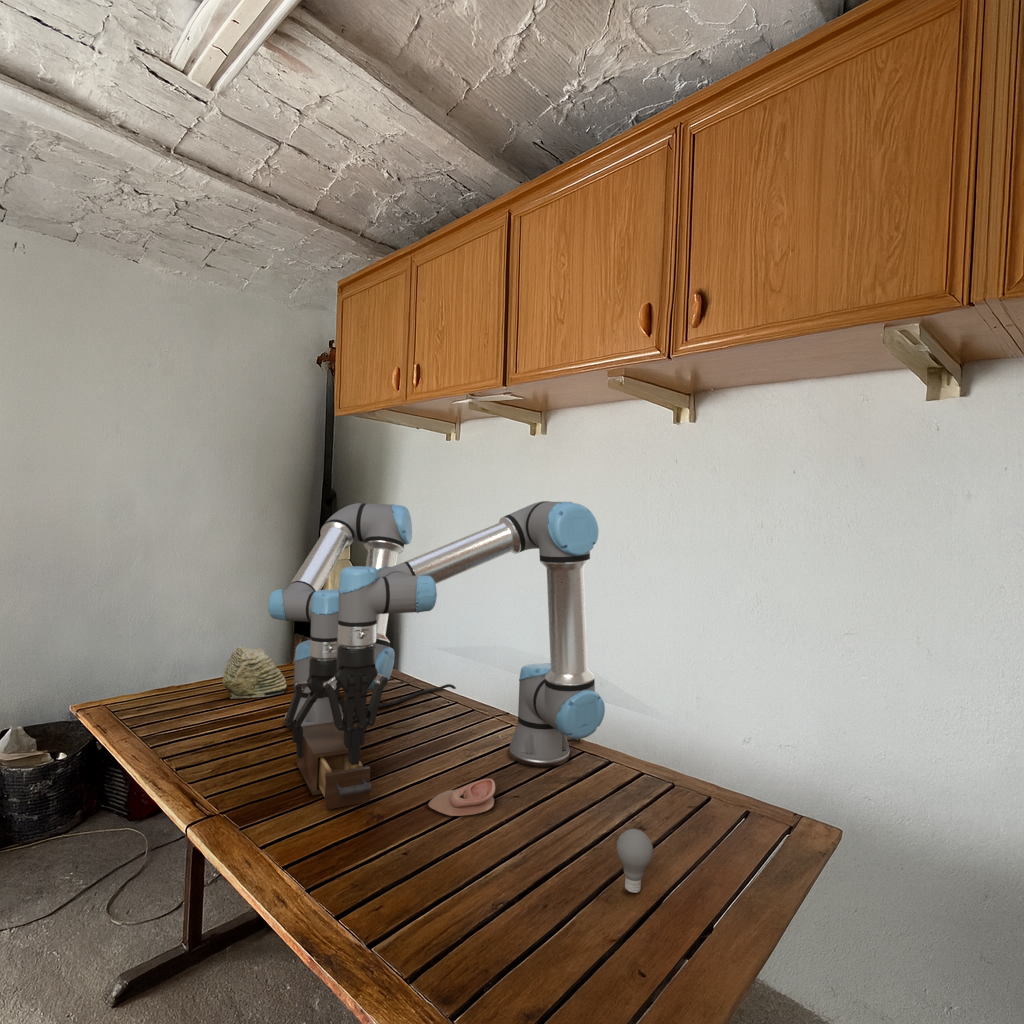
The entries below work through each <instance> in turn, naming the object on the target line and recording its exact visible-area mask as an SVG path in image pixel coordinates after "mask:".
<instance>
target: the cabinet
mask: <svg viewBox="0 0 1024 1024" xmlns="http://www.w3.org/2000/svg"><path fill="white" fill-rule="evenodd" d="M301 727H302V728H303V742H302V757H301V758H298V756H297V755H296V766H297V768H298V770H299V771H300V773H301V776H302V778H303V779H304V781H305V783H306V785H307V788H308V789H309V791H310V793H311V795H312V796H317V795H318V796H319V795H323V793H322V792H321V790H320V788H319V786H318V784H317V774H318V758H319V757H325V756H332V755H338V754H344V753H348V748H346V747H345V745H344V731H342V730H341V731H339V730H338V729H337V728H336V726H335V724H334V722H330V723H322V724H315V725H307V726H301ZM361 750H362V749H361V746H360V751H359V761H360V762H361Z"/></svg>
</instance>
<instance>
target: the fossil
mask: <svg viewBox="0 0 1024 1024" xmlns="http://www.w3.org/2000/svg"><path fill="white" fill-rule="evenodd" d="M222 676H223V677H222V685H223V687H224V688H225V690H226V691H228V693H229V698H230V699H250V698H264V697H271V696H275V695H281V694H284V693H285V691H286V689H287V687H288V686H287V680H286V678H285V676H284V674H283V673H282V672H281V669H279V668H278V667H277V665H276V663H275V662H274V660H273V659H272V658H271V657H270V656H269V655H268V654H267V653H266V652H265V650H264V649H263V648H260V647H258V648H251V647H247V646H246V647H245V646H238V647H237V648H236V649H235V650H233V651H232V653H231V656H230V657H229V659H228V660H227V663H226V666H225V668H224V671H223V675H222Z"/></svg>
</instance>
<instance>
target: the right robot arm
mask: <svg viewBox="0 0 1024 1024" xmlns="http://www.w3.org/2000/svg"><path fill="white" fill-rule="evenodd" d="M599 532H600V531H599V524H598V521H597V518H596V516H595V515H594V513H593V512H592V511H591V510H590V509H589V508H588V507H587V506H585V505H583V504H580V503H577V502H572V501H566V500H565V501H551V500H550V501H549V500H542V501H537V502H534V503H532V504H529V505H527V506H525V507H522V508H520V509H517V510H515V511H513V512H511V513H509V514H506V515H504V516H502V517H500V519H499V521H498V522H497V523H496V524H493V525H490V526H488V527H486V528H483V529H481V530H479V531H476V532H474V533H471V534H468V535H466V536H464V537H461V538H459V539H457V540H454V541H452V542H449V543H447V544H444V545H442V546H440V547H438V548H435V549H432V550H430V551H427V552H425V553H422V554H420V555H418V556H415V557H413V558H411V559H408V560H406V561H404V562H400V563H398V564H396V565H395V566H393V567H382V568H379V569H377V568H375V567H367V566H366V565H364V566H362V565H355V566H346V567H344V568H342V570H341V571H340V573H339V582H338V589H337V590H338V592H339V607H338V639H337V643H338V644H340V645H339V646H338V648H337V668H336V671H335V673H334V677H333V678H331V679H330V680H329V681H324V682H323V683H322V685H323V687H324V688H325V690H326V691H327V693H328V698H329V702H330V706H331V711H332V715H333V720H334V724H335V726H336V728H337V729H338V730H339V731H341V730H342V731H344V745H345V747H346V748H348V761H349V762H350V764H351V765H356V764H359V751H360V747H361V746H364V745H365V740H366V739H365V737H366V736H365V735H366V731H367V729H368V728H369V727H372V726H374V725H375V722H376V720H377V719H376V718H377V715H378V711H379V708H378V707H379V705H380V702H381V699H382V696H383V691H384V689H385V688H386V686H387V684H388V683H389V681H388V678H387V677H385V676H384V675H381V674H379V673H378V670H377V668H376V666H375V664H376V646H375V645H374V643H375V642H376V626H377V614H387V613H389V614H409V613H411V614H413V613H416V614H419V613H425V612H431V611H432V610H433V609H434V608H435V606H436V604H437V598H438V590H437V585H438V584H439V583H441V582H445V581H446V580H449V579H451V578H454V577H455V576H458V575H461V574H463V573H465V572H468V571H469V570H472V569H475V568H477V567H478V566H481V565H483V564H485V563H489V562H491V561H493V560H495V559H497V558H499V557H502V556H504V555H507V554H508V553H512V554H515V555H516V554H519V553H521V552H524V551H528V550H534V549H537V550H539V562H540V564H542V565H543V567H545V569H546V580H547V581H546V584H547V585H546V587H547V609H548V613H547V614H548V633H549V634H548V635H549V656H550V657H549V658H550V659H549V660H550V663H549V662H539V663H529V664H526V665H523V666H522V667H521V669H520V671H519V679H518V682H519V684H518V705H517V706H518V709H517V723H516V727H515V729H514V732H513V734H512V735H513V736H512V737H511V740H510V743H509V750H508V751H509V752H508V753H509V756H510V758H511V759H513V760H514V761H515V762H516V763H517V762H518V763H519V764H522V765H524V766H525V765H526V766H530V767H536V768H550V767H558V766H561V765H563V764H565V763H567V762H568V761H569V759H570V751H571V750H570V749H571V748H570V746H569V743H575V742H581V739H585V738H588V737H590V736H592V735H593V734H594V733H595V732H596V731H597V728H598V727H600V726H601V724H602V722H603V720H604V718H605V713H606V706H605V702H604V699H603V698H602V696H601V694H599V693H598V692H597V691H596V684H595V681H596V680H595V674H594V673H593V672H592V671H591V670H590V669H589V668H588V645H587V644H588V643H587V619H586V618H587V617H586V593H585V592H586V587H585V566H586V565H587V564H588V563H589V562H590V561H591V551H592V550H593V549H594V547H595V546H594V545H596V544H597V542H598V540H599V534H600V533H599ZM374 679H375V680H374ZM373 680H374V683H375V685H374V687H373V690H371V696H370V700H369V703H368V706H369V707H368V710H366V707H367V697H368V690H367V689H368V687H369V686H370V685H371V683H372V682H373ZM337 682H338V683H339V684H340V686H341V687H342V688H341V689H342V690H343V695H344V698H343V699H344V711H343V721H342V717H341V712H340V708H339V703H338V699H337V695H336V692H335V691H334V690H336V688H337V686H336V683H337ZM355 692H356V693H357V719H356V721H355V723H356V724H355V725H356V726H354V727H353V713H354V711H353V704H354V695H355ZM567 737H568V738H567ZM577 739H578V740H577Z"/></svg>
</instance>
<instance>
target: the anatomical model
mask: <svg viewBox="0 0 1024 1024" xmlns="http://www.w3.org/2000/svg"><path fill="white" fill-rule="evenodd" d="M495 793H496V783H495V781H494V779H492V778H483V779H480V780H477V781H473V782H470V783H468V784H465V785H464V786H461V787H459V788H456V789H451V790H446V791H443V792H441V793H439V794H437V795H436V796H434V797H433V798H431V800H429V802H428V804H427V805H428V808H430V809H431V810H434V811H436V812H438V813H439V814H443V815H446V816H450V817H461V816H472V815H478V814H481V813H484V812H487V811H489V810H491V809H492V808H493V807H494V806H495V805H494V804H495V798H494V795H495Z"/></svg>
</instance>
